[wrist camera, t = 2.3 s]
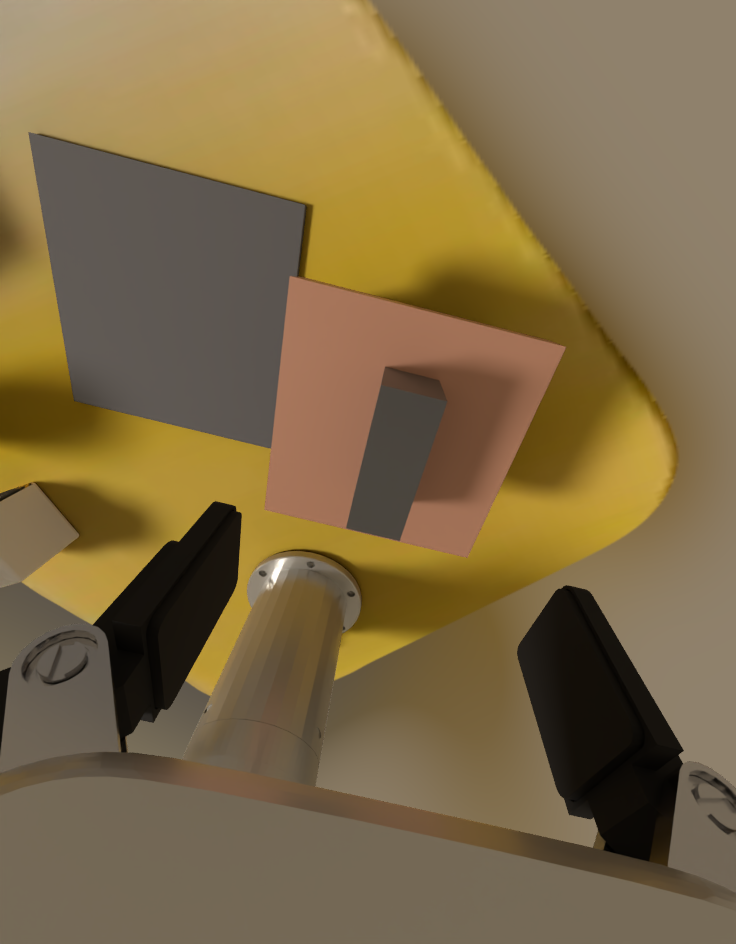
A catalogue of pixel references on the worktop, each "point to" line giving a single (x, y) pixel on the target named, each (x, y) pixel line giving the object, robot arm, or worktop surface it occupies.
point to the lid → (398, 415)
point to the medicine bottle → (29, 532)
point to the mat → (168, 288)
